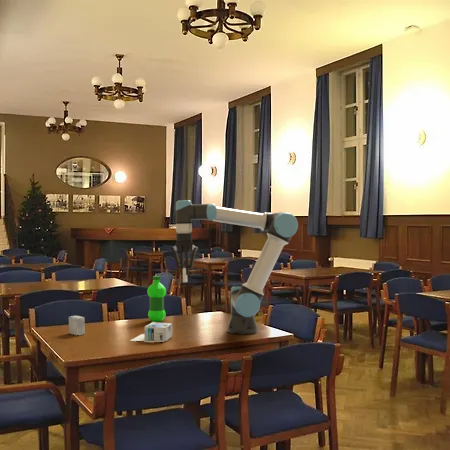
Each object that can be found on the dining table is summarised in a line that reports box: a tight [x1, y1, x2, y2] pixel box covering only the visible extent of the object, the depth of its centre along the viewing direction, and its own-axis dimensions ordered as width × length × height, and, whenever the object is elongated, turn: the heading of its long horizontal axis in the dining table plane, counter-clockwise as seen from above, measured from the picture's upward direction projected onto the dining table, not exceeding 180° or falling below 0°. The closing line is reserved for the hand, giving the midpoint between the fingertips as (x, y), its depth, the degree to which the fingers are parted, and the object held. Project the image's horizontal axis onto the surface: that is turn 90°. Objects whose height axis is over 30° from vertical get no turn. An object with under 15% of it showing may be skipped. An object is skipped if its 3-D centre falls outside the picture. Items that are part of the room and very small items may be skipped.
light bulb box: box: [143, 321, 173, 342], centre depth 274 cm, size 11×7×11 cm
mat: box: [129, 333, 165, 343], centre depth 276 cm, size 16×15×1 cm
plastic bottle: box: [146, 275, 167, 323], centre depth 319 cm, size 10×10×25 cm
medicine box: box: [68, 315, 86, 336], centre depth 286 cm, size 8×4×9 cm, turn 47°
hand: (185, 281), depth 275 cm, fingers closed
